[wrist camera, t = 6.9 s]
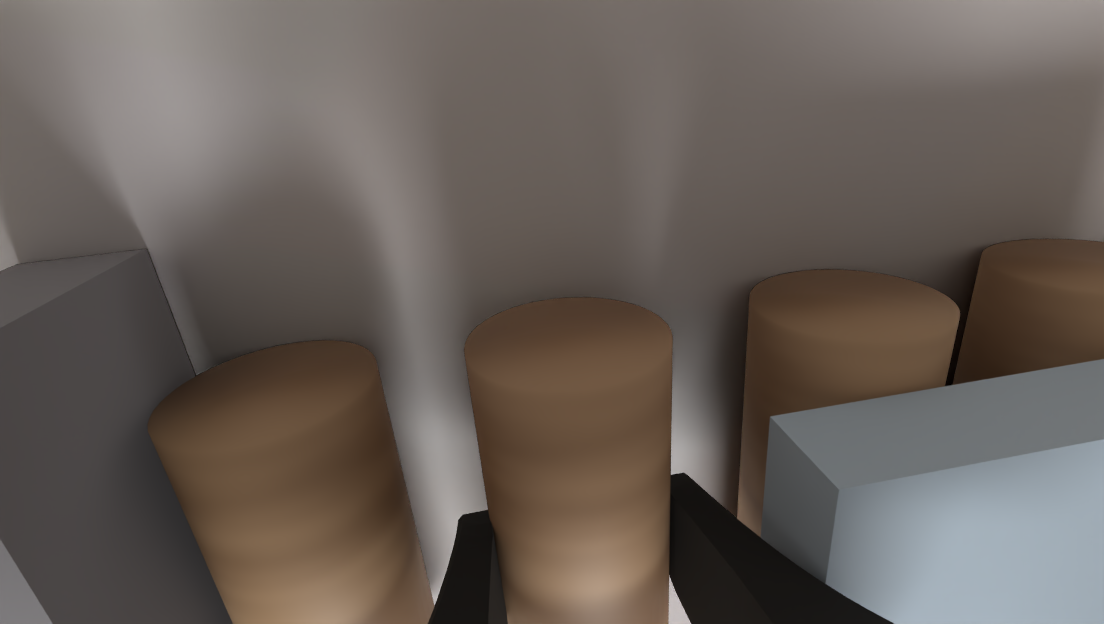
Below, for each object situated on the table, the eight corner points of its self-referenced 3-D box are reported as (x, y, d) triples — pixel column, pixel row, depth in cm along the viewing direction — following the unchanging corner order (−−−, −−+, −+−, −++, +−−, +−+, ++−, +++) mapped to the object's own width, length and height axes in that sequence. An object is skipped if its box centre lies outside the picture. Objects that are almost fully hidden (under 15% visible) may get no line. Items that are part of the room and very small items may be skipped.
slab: (1194, 572, 14) (1303, 644, 12) (749, 672, 13) (798, 769, 11) (1318, 322, 12) (1480, 366, 10) (770, 416, 10) (838, 490, 8)
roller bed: (1158, 467, 19) (1325, 558, 15) (307, 637, 16) (263, 802, 12) (1268, 204, 16) (1517, 242, 12) (202, 355, 12) (97, 470, 9)
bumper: (318, 696, 17) (260, 958, 12) (234, 714, 17) (139, 990, 12) (146, 248, 11) (-98, 381, 6) (17, 264, 11) (-346, 415, 6)
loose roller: (620, 576, 16) (699, 701, 13) (494, 628, 15) (546, 779, 12) (611, 284, 13) (717, 354, 9) (444, 321, 11) (498, 416, 8)
